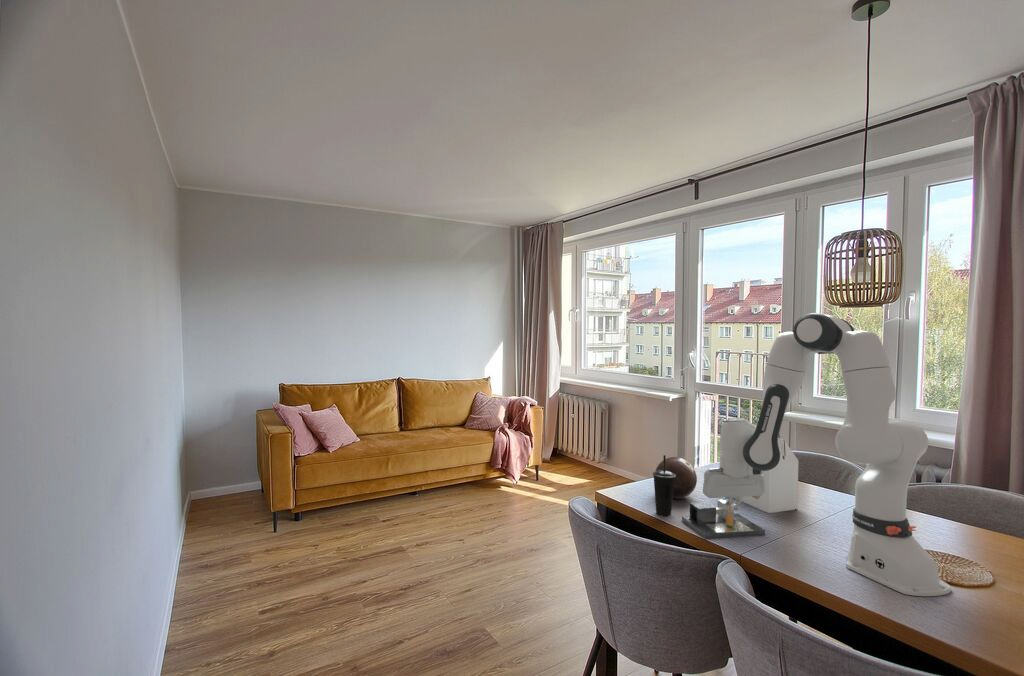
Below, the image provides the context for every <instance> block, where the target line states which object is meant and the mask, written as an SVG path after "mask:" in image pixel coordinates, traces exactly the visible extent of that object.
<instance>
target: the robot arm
mask: <svg viewBox="0 0 1024 676" xmlns="http://www.w3.org/2000/svg"><path fill="white" fill-rule="evenodd" d="M815 354H818V355H827V354H829V355H830V354H835V355H836V357H837V358H838V361H839V364H840V368H841V374H842V378H843V379H842V380H843V384H844V388H845V395H846V412H845V418H844V421H843V424H842V426H841V428H839V430H838V431H837V433H836V434H835V439H834V440H835V441H834V442H835V447H836V449H837V452H838V453H839V455H840V456H841V457H842V458H843V459H844V460H846V461H847V462H850V463H855V464H859V465H866V467H865V469H864V470H863V472H862V473H861V474H860V475H859V476H858V477H857V479H856V481H855V485H854V486H855V488H854V489H855V496H854V508H853V509H852V523H853V530H852V535H851V538H850V540H851V541H850V546H849V551H848V553H847V556H846V562H845V563H846V565H845V567H846V568H847V569H849V570H851V571H853V572H856V573H858V574H859V575H863V576H864V577H866V578H868V579H871V580H873V581H875V582H877V583H879V584H881V585H884V586H885V587H888V588H890V589H892V590H895V591H897V592H899V593H902V594H903V595H907V596H914V597H915V596H917V597H936V596H944V595H948V594H950V593H951V592H952V586H951V585H950V584H948V582H946V581H943V580H942V579H941V578H940V577H939V576H940V574H939V568H938V565H937V562H936V560H935V559H934V558H932V556H931V555H930V553H928V552H927V551H926V549H924V548H923V546H922V545H921V544H920V543H919V542H918V541H917V540H916V538H914V536H913V532H914V531H915V532H916V531H917V530H916V528H917V526H916V525H914V526H913V525H912V526H911V525H910V522H909V520H908V519H909V518H907V500H908V488H909V485H910V481H911V478H912V475H913V473H914V470H915V467H916V465H917V463H918V461H919V460H920V458H921V457H922V456H923V455H924V454H925V453H926V452H927V450H928V447H929V439H928V435H927V433H926V432H925V430H924V429H923V428H922V427H920V426H919V425H918V424H915V423H913V422H909V421H903V420H898V419H894V420H892V419H891V420H889V417H890V416H889V415H890V410H891V409H890V408H891V406H892V404H893V403H894V401H895V400H896V398H897V392H896V387H895V382H894V377H893V373H892V370H891V366H890V361H889V358H888V354H887V352H886V349H885V347H884V345H883V342H882V341H881V339H880V336H878V335H877V333H875V332H873V331H870V330H855V329H854V327H853V326H852V325H851V323H850V322H848V321H847V320H845V319H842V318H840V317H837V316H835V315H831V314H826V313H820V312H812V313H811V312H810V313H808V314H807V313H806V314H804V315H802V316H801V317H800V318H798V319H797V320H796V322H795V323H794V325H793V329H792V331H785V332H781V333H780V334H779V335H777V337H775V339H774V342H773V344H772V346H771V348H770V351H769V354H768V357H767V359H766V362H765V367H764V373H763V384H762V385H763V386H762V387H763V389H762V392H763V393H762V405H761V410H760V412H759V417H758V420H757V423H756V425H757V426H755V425H754V424H755V423H752V422H750V421H749V420H748V419H747V418H744V417H735V418H734V417H733V418H729V419H726V420H725V421H723V422H722V424H721V427H720V433H719V436H720V437H719V446H720V448H721V449H720V454H719V466H718V467H716V468H711V467H710V468H708V469H707V470H706V471H704V473H703V478H704V479H703V483H702V485H703V486H702V493H703V494H704V496H705V497H707V498H708V499H720V498H724V500H725V501H727V502H728V503H730V504H732V505H733V506H734V511H739V509H740V508H739V506H740V504H741V503H742V497H746V496H762V495H763V494H764V492H765V481H764V477H763V473H764V471H768V470H771V469H773V468H775V467H776V466H777V465H778V463H779V460H780V454H781V451H782V442H781V440H780V439H781V437H780V438H779V437H778V436H780V432H781V428H782V423H783V420H784V417H785V415H786V411H787V410H788V407H789V405H790V404H791V402H792V401H793V399H794V398H795V397H796V395H797V393H798V392H799V390H800V388H801V387H802V384H803V383H804V382H803V381H804V380H805V376H806V373H807V368H808V365H809V362H810V359H811V358H812V357H813V356H814V355H815ZM733 497H735V498H736V499H735V498H734V502H732V501H733Z"/></svg>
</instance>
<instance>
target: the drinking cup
mask: <svg viewBox="0 0 1024 676" xmlns="http://www.w3.org/2000/svg"><path fill="white" fill-rule="evenodd" d="M666 459H667V457H666V454H665V455H664V454H663V460H662V461H663V470H658V471H656V470H655V471H652V476H653V485H654V486H653V487H654V498H655V511H656V515H658V516H660V515H662V516H661V517H670V516H671V515H672V511H673V510H672V509H673V500H674V498H673V492H674V483H675V477H676V474H674V473H672V472H670V471H668V470H665V463H666ZM669 515H670V516H669Z"/></svg>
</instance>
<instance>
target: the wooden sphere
mask: <svg viewBox="0 0 1024 676" xmlns="http://www.w3.org/2000/svg"><path fill="white" fill-rule="evenodd" d="M658 470H663V460H661V461H660V463H659V464H657V466H656V469H655V471H658ZM665 470H668V471H670V472H672V473H674V474H676V477H675V483H674V492H673V499H678V500H679V499H683V498H684V499H685V498H686V497H688V496H690V495H692V493H693V492H694V491H695V489H696V486H697V484H698V483H697V482H698V479H697V478H698V477H697V472H696V469H695V468H694V467H693V465H692V464H691V463H690V462H688V460H686V459H684V458H681V457H679V456H678V457H677V456H673V457H666V463H665Z"/></svg>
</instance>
